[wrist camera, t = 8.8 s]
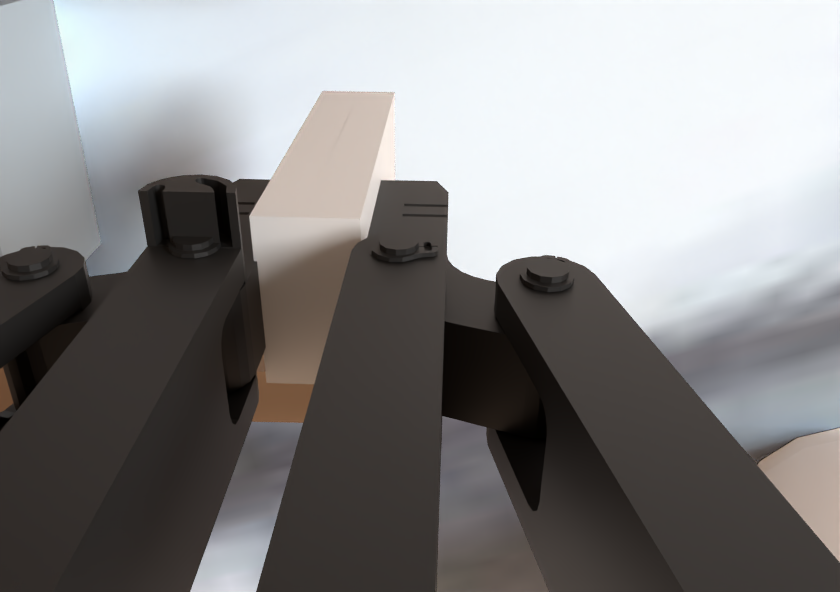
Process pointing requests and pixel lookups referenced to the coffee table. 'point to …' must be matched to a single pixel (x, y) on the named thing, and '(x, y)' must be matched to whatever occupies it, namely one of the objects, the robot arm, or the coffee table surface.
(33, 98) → the gray block
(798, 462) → the foam cup
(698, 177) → the coffee table surface
